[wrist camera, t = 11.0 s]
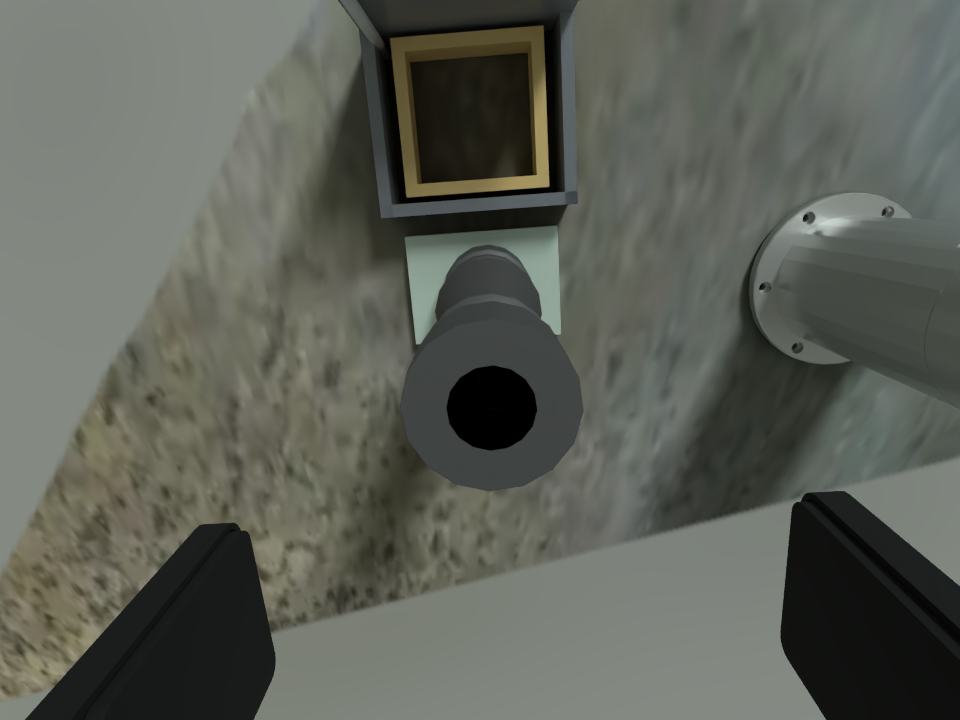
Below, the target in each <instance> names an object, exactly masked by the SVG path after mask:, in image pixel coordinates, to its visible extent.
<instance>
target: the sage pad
mask: <svg viewBox="0 0 960 720" xmlns="http://www.w3.org/2000/svg"><path fill="white" fill-rule="evenodd" d="M488 244H489V245H494V246H498V247H503V248H506V249H507V250H508V251H510V252H511V253H513V254H514V255H515V256H517V257H518V258H519V259H520V261H521V263H522V264H523V266H524V268H525V269H526V271H527V272H528V274H529V276H530V278H531V281H532V283H533V284H534V286H535V288H536V289H537V291H538V293H539V297H540V304H541V311H542V316H541V320H542V321H544V322H545V323H547V324H548V325H549V326H550V327H551V329H552V331H553V332H554V334H555V335H559V334H561V320H560V289H559V259H558V228H557V226H556V225H551V226H538V227H524V228H511V229H497V230H483V231H470V232H456V233H443V234H429V235H415V236H406V237H405V245H406V254H407V263H408V273H409V282H410V291H411V301H412V310H413V319H414V329H415V338H416V344H421V343H422V341H423V340H424V338H425V337H426V335H427V334H428V333H429V331H430V330H431V328H432V327H433V325H434V324H435V323H436V322H437V319H436V314H435V309H436V304H437V299H438V294H439V290H440V289H441V287H442V286H443V284H444V283H445V279H446V275H447V273H448V271H449V269H450V268H451V266H452V265H453V263H454V262H455V260H456V259H457V258H458V256H460V255H461V254H463V253H464V252H466V251H467V250H469V249H470V248H472V247H477V246H482V245H488Z"/></svg>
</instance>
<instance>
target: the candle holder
mask: <svg viewBox="0 0 960 720" xmlns="http://www.w3.org/2000/svg"><path fill="white" fill-rule="evenodd" d="M435 314H436V319H437V322H436V323H435V324H434V325H433V327H432V328H431V330H430V331H429V333H428V334H427V335H426V337H425V338H424V340H423V341H422V343H421V344H420V345H419V347H418V349H417V351H416V354H415V356H414V358H413V360H412V362H411V365H410V367H409V369H408V371H407V374H406V379H405V384H404V389H403V394H402V399H401V404H400V408H401V413H402V417H403V422H404V426H405V431H406V435H407V439H408V441H409V442H410V443H411V445H412V446H413V447H414V449H415V450H416V452H417V453H418V454H419V456H420V457H421V459H422V460H423V461H424V463H425V464H426V465H427V466H428V467H429V468H431V469H432V470H434V471H435V472H437V473H439V474H440V475H442V476H443V477H445V478H446V479H448V480H450V481H451V482H453V483H454V484H457V485H462V486H466V487H471V488H476V489H481V490H486V491H494V490H500V489H507V488H513V487H520V486H524V485H526V484H528V483H529V482H531V481H533V480H535V479H536V478H538V477H540V476H542V475H544V474H545V473H547V472H549V471H551V470H553V468H554V467H555V466H556V465H557V464H558V462H559V461H560V460H561V459H562V457H563V456H564V455H565V454H566V453H567V451H568V450H569V449H570V448H571V446H572V445H573V444H574V442H575V438H576V435H577V432H578V428H579V425H580V421H581V418H582V415H583V404H582V396H581V389H580V381H579V377H578V375H577V373H576V371H575V369H574V367H573V365H572V363H571V362H570V360H569V358H568V356H567V354H566V352H565V350H564V349H563V347H562V345H561V344H560V342H559V340H558V339H557V337H556V336H555V334H554V332H553V331H552V329H551V327H550V326H549V325H548V324H547V323H545V322H544V321H542V320H541V316H542V311H541V304H540V297H539V293H538V291H537V289H536V288H535V286H534V284H533V283H532V281H531V278H530V276H529V274H528V272H527V271H526V269H525V268H524V266H523V264H522V263H521V261H520V259H519V258H518V257H517V256H515V255H514V254H513V253H511V252H510V251H508V250H507V249H506V248H503V247H498V246H494V245H489V244H488V245H482V246H477V247H472V248H470V249H469V250H467V251H466V252H464V253H463V254H461V255H460V256H458V258H457V259H456V260H455V262H454V263H453V265H452V266H451V268H450V269H449V271H448V273H447V275H446V279H445V283H444V284H443V286H442V287H441V289H440V290H439V294H438V299H437V304H436V309H435Z"/></svg>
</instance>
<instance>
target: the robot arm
mask: <svg viewBox="0 0 960 720" xmlns="http://www.w3.org/2000/svg"><path fill="white" fill-rule="evenodd" d="M804 215H805V219H804V220H803V216H804ZM761 284H762V288H761V289H759V287H760V285H761ZM748 292H749V303H750V309H751V312H752V315H753V319H754V321H755V323H756V325H757V327H758V328H759V330H760V332H761V334H762V335H763V336H764V337H765V338H766V339H767V340H768V341H769V343H770V344H772V345H773V346H774V347H776V348H777V349H778V350H780V351H781V352H783V353H785V354H787V355H788V356H790V357H792V358H795V359H798V360H801V361H804V362H807V363H813V364H822V365H827V364H840V363H844V362H849V361H853V362H856V363H858V364H860V365H862V366H865V367H867V368H869V369H871V370H874V371H876V372H878V373H880V374H883V375H885V376H887V377H889V378H892V379H894V380H896V381H898V382H901V383H903V384H905V385H907V386H910V387H912V388H914V389H916V390H919V391H921V392H923V393H925V394H928V395H930V396H932V397H934V398H937V399H939V400H941V401H943V402H946V403H948V404H950V405H952V406H954V407H957V408H959V409H960V221H950V220H930V219H913V218H912V216H911V215H910V214H909V213H908V212H907V211H906V210H904V209H903V208H902V207H901V206H899V205H898V204H897V203H895V202H893V201H891V200H888V199H886V198H884V197H881V196H877V195H873V194H869V193H839V194H832V195H828V196H825V197H821V198H817V199H815V200H813V201H811V202H809V203H806V204H804V205H802V206H800V207H799V208H798V209H796V210H795V211H793V212H792V213H790V214H789V215H787V216H786V217H785V218H784V219H783V220H782V221H781V222H780V223H779V224H778V225H777V226H776V227H775V228H774V229H773V230H772V231H771V233H770V234H769V235H768V237H767V238H766V240H765V241H764V242H763V244H762V246H761V248H760V250H759V252H758V254H757V256H756V258H755V260H754V264H753V267H752V270H751V274H750V281H749V290H748ZM793 345H794V346H793ZM792 346H793V347H792ZM791 514H792V515H791V525H790V536H789V546H788V557H787V567H786V579H785V590H784V600H783V611H782V621H781V643H782V647H783V650H784V653H785V655H786V657H787V659H788V660H789V662H790V664H791V665H792V667H793V668H794V670H795V671H796V673H797V675H798V676H799V678H800V679H801V681H802V682H803V684H804V685H805V687H806V689H807V690H808V692H809V693H810V695H811V696H812V698H813V699H814V701H815V703H816V704H817V706H818V707H819V709H820V711H821V712H822V714H823V715H824V717H825V718H826V720H960V586H959V585H958V584H956V583H955V582H954V581H953V580H952V579H950V578H949V577H948V576H947V575H946V574H944V573H943V572H942V571H941V570H940V569H938V568H937V567H936V566H935V565H934V564H932V563H931V562H930V561H929V560H928V559H926V558H925V557H924V556H923V555H922V554H920V553H919V552H918V551H917V550H915V549H914V548H913V547H912V546H911V545H910V544H908V543H907V542H906V541H905V540H903V539H902V538H901V537H900V536H899V535H897V534H896V533H895V532H894V531H893V530H892V529H890V528H889V527H888V526H887V525H886V524H884V523H883V522H882V521H881V520H880V519H878V518H877V517H876V516H875V515H874V514H872V513H871V512H870V511H869V510H868V509H866V508H865V507H864V506H863V505H862V504H860V503H859V502H858V501H857V500H856V499H854V498H853V497H852V496H851V495H850V494H848V493H846V492H845V491H833V492H813V493H806V494H805V495H804V496H803V498H802V500H801V502H796V503H795V504H794V505H793V508H792V513H791ZM274 670H275V651H274V646H273V642H272V637H271V632H270V628H269V623H268V618H267V613H266V609H265V604H264V599H263V595H262V590H261V585H260V581H259V576H258V571H257V566H256V562H255V557H254V552H253V548H252V543H251V539H250V535H249V534H248V532H247V531H241V530H240V528H239V526H238V525H237V524H235V523H220V524H203V525H200V526H199V527H197V528H196V529H195V530H194V531H193V532H192V534H191V535H190V536H189V537H188V538H187V539H186V540H185V541H184V543H183V544H182V545H181V546H180V547H179V548H178V549H177V550H176V551H175V553H174V554H173V555H172V556H171V557H170V558H169V559H168V560H167V562H166V563H165V564H164V565H163V566H162V567H161V568H160V569H159V570H158V572H157V573H156V574H155V575H154V576H153V577H152V578H151V579H150V581H149V582H148V583H147V584H146V585H145V586H144V587H143V588H142V589H141V591H140V592H139V593H138V594H137V595H136V596H135V597H134V598H133V600H132V601H131V602H130V603H129V604H128V605H127V606H126V607H125V609H124V610H123V611H122V612H121V613H120V614H119V615H118V616H117V617H116V619H115V620H114V621H113V622H112V623H111V624H110V625H109V626H108V628H107V629H106V630H105V631H104V632H103V633H102V634H101V635H100V636H99V638H98V639H97V640H96V641H95V642H94V643H93V644H92V645H91V647H90V648H89V649H88V650H87V651H86V652H85V653H84V654H83V655H82V657H81V658H80V659H79V660H78V661H77V662H76V663H75V664H74V666H73V667H72V668H71V669H70V670H69V671H68V672H67V673H66V674H65V676H64V677H63V678H62V679H61V680H60V681H59V682H58V683H57V685H56V686H55V687H54V688H53V689H52V690H51V691H50V692H49V693H48V695H47V696H46V697H45V698H44V699H43V700H42V701H41V702H40V704H39V705H38V706H37V707H36V708H35V709H34V710H33V711H32V712H31V714H30V715H29V716H28V717H27V718H26V719H25V720H254V718H255V715H256V713H257V711H258V709H259V707H260V704H261V702H262V700H263V698H264V696H265V693H266V691H267V689H268V687H269V685H270V683H271V680H272V678H273V675H274Z"/></svg>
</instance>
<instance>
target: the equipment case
mask: <svg viewBox="0 0 960 720" xmlns="http://www.w3.org/2000/svg"><path fill="white" fill-rule="evenodd" d="M338 1H339V2H340V4H341V5H342V6H343V8H344V9H345V11H346V12H347V13H348V15H349V16H350V17H351V19H352V20H353V21H354V23H355V24H356V25H357V27H358V28H359V34H360V43H361V51H362V60H363V68H364V77H365V85H366V94H367V102H368V111H369V119H370V128H371V136H372V145H373V153H374V162H375V170H376V179H377V187H378V196H379V204H380V213H381V218H391V217H404V216H418V215H431V214H445V213H458V212H471V211H485V210H498V209H512V208H525V207H539V206H552V205H566V204H578V195H577V151H576V107H575V63H574V19H573V10H574V8H575V6H576V4H577V2H578V0H338ZM544 31H552V41H553V72H554V103H555V134H556V165H557V192H555V193H542V194H528V195H515V196H502V197H488V198H475V199H462V200H448V201H435V202H422V203H408V204H400V196H399V187H398V178H397V168H396V159H395V150H394V140H393V131H392V122H391V113H390V103H389V94H388V85H387V75H386V66H385V60H388V59H389V58H390V57H391V52H392V62H393V71H394V81H395V91H396V100H397V110H398V119H399V129H400V139H401V148H402V158H403V167H404V177H405V187H406V196H407V197H425V196H438V195H451V194H465V193H478V192H491V191H504V190H518V189H531V188H544V187H549V162H548V134H547V107H546V79H545V51H544ZM386 44H391V52H390V51H389V49H388V47H387V46H386ZM518 53H528V72H529V95H530V118H531V141H532V164H533V175H531V176H518V177H505V178H492V179H479V180H466V181H452V182H439V183H426V184H422V180H421V170H420V160H419V149H418V139H417V128H416V118H415V108H414V97H413V87H412V77H411V66H410V62H419V61H432V60H444V59H456V58H469V57H481V56H493V55H505V54H518Z"/></svg>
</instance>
